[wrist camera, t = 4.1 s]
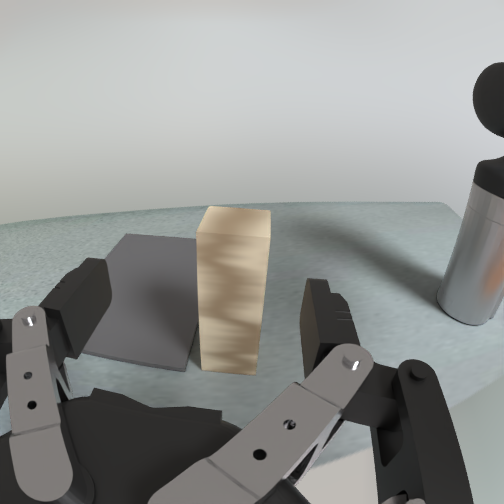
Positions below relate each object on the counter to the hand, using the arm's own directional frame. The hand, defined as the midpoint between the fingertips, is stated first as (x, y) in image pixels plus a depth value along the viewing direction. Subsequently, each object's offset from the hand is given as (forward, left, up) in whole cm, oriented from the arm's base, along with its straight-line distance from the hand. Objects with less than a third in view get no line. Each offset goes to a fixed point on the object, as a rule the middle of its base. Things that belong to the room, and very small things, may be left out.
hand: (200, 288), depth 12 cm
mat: (+12, -22, -16) cm, 30 cm away
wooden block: (0, -12, -16) cm, 20 cm away
